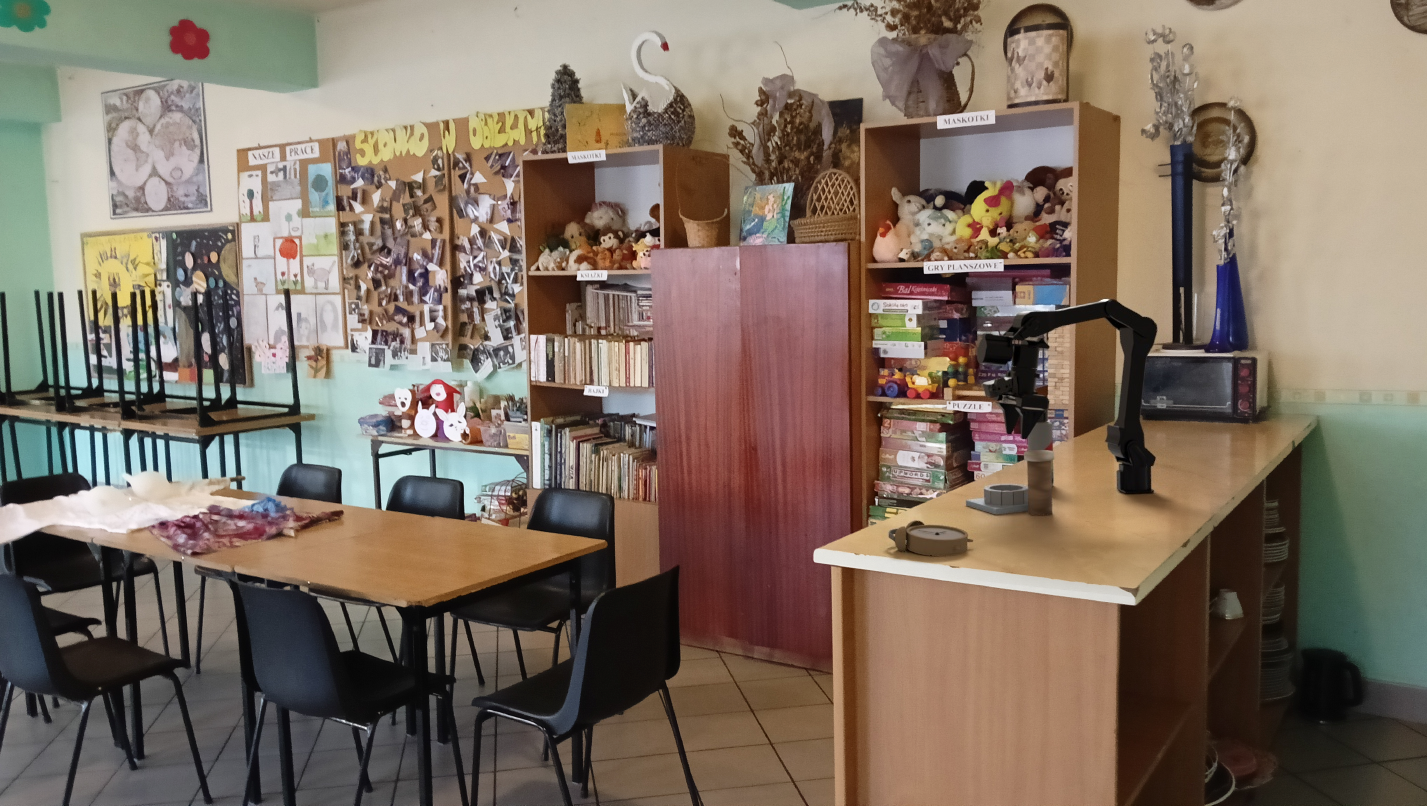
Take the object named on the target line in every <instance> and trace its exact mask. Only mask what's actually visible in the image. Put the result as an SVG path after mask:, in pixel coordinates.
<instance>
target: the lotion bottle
mask: <svg viewBox="0 0 1427 806" xmlns="http://www.w3.org/2000/svg"><path fill="white" fill-rule="evenodd" d="M1042 410H1046V411H1045V413H1043V415H1042V416H1041V417H1040V419H1039V420H1038V422H1037V423H1036V425H1035V426H1034V428H1033V430H1032V431H1031V433H1030V434H1029V436H1028V438H1027V451H1031V450H1048V451H1053V452H1054V440H1053V439H1054V438H1053V436H1054V435H1053V431H1054V430H1053V423H1052V422H1051V421H1049V409H1042ZM1054 473H1055V472H1054V460H1051V476H1052V487H1053V486H1054V485H1055V484H1054V481H1055V480H1054V479H1055V478H1054Z"/></svg>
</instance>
